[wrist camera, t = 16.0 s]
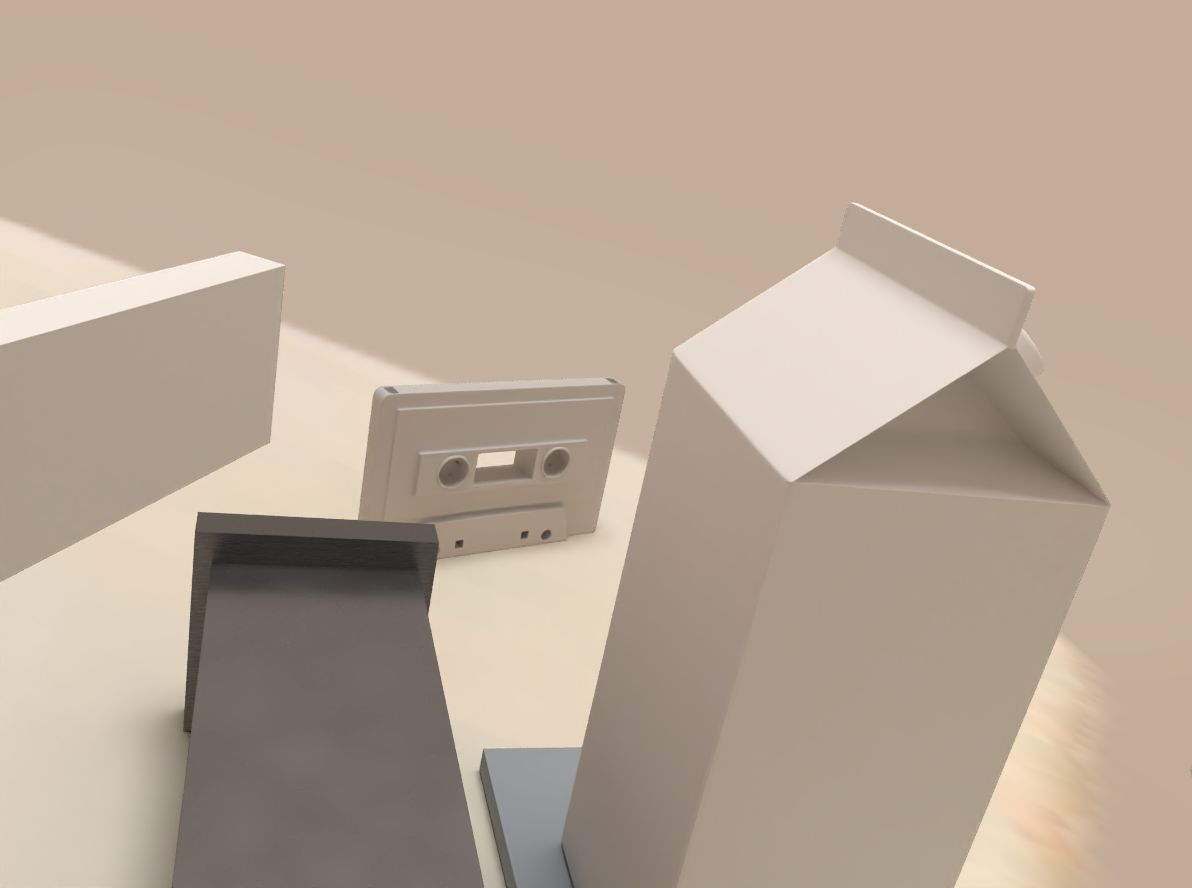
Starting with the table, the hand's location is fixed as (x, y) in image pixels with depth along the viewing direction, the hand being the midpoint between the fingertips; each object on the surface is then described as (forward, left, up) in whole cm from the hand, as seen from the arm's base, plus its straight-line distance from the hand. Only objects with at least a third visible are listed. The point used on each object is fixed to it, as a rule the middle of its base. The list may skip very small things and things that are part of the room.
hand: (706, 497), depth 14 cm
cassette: (-30, +5, -18) cm, 35 cm away
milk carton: (-8, +7, -17) cm, 20 cm away
